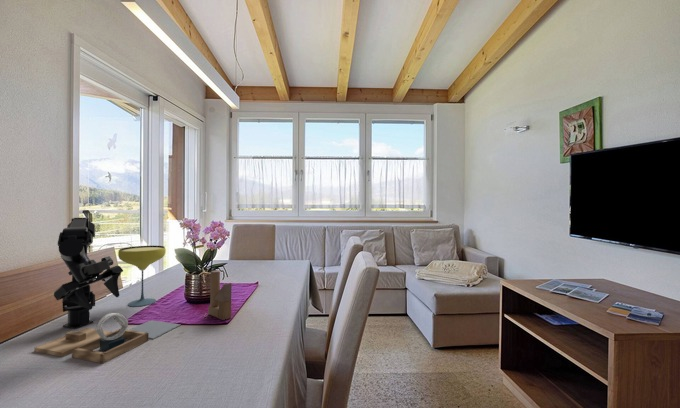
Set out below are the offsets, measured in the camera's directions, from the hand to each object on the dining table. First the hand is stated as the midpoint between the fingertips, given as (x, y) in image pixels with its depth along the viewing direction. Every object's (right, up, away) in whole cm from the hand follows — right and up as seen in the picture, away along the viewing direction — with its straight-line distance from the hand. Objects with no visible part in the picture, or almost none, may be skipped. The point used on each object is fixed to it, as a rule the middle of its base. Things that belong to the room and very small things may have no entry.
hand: (105, 302), depth 99 cm
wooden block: (+28, -13, +24) cm, 39 cm away
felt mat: (+9, -13, +10) cm, 19 cm away
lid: (-9, -13, -1) cm, 16 cm away
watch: (+5, -13, -4) cm, 15 cm away
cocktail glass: (-13, -13, +39) cm, 43 cm away
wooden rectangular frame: (+5, -13, -4) cm, 15 cm away
